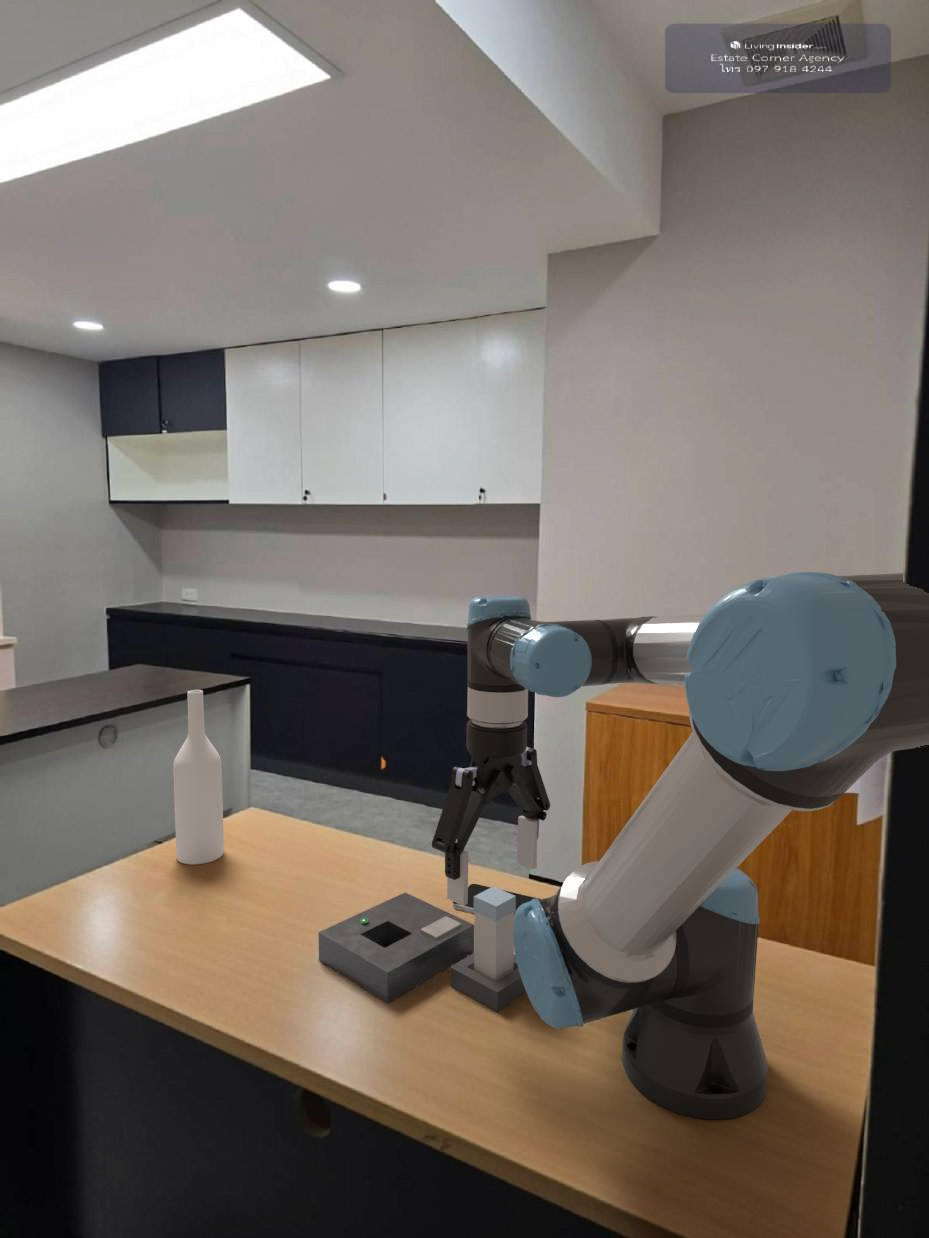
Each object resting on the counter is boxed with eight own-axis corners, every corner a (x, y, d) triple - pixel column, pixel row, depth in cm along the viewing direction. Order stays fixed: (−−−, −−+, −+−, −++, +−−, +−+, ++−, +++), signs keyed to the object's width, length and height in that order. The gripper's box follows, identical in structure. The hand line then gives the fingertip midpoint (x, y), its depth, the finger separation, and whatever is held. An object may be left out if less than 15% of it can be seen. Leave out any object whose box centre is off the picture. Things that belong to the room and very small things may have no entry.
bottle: (233, 854, 138) (228, 690, 135) (193, 869, 132) (187, 698, 129) (207, 842, 143) (202, 684, 140) (167, 856, 137) (161, 691, 134)
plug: (514, 984, 99) (515, 895, 98) (495, 997, 96) (496, 906, 95) (492, 972, 102) (493, 886, 100) (472, 984, 99) (473, 896, 98)
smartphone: (542, 926, 113) (450, 903, 119) (542, 934, 113) (450, 910, 119) (559, 902, 120) (472, 882, 126) (559, 909, 120) (472, 889, 127)
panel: (473, 951, 107) (474, 921, 106) (387, 1002, 95) (387, 969, 95) (405, 917, 116) (405, 889, 116) (318, 959, 104) (318, 929, 104)
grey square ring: (537, 983, 99) (537, 965, 99) (497, 1011, 94) (497, 992, 93) (490, 960, 105) (490, 942, 104) (449, 985, 99) (449, 966, 99)
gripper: (534, 699, 107) (530, 844, 110) (402, 733, 89) (401, 907, 91) (579, 708, 102) (574, 860, 105) (449, 746, 84) (447, 929, 86)
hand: (493, 882), depth 98 cm, fingers open, 13 cm apart
